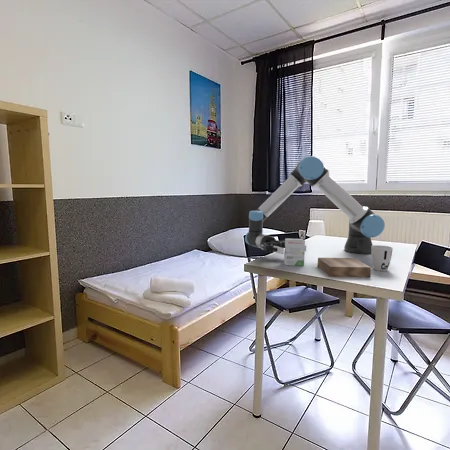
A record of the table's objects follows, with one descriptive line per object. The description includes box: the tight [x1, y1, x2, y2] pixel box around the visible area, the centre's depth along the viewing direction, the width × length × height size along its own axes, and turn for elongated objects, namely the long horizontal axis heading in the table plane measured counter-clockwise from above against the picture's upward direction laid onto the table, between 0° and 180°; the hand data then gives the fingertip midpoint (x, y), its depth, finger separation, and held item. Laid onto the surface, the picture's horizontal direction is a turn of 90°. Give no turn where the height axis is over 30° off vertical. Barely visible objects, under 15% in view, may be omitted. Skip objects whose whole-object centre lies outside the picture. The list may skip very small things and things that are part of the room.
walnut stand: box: [317, 257, 372, 278], centre depth 125 cm, size 16×16×4 cm
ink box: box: [283, 237, 306, 267], centre depth 136 cm, size 9×5×12 cm, turn 84°
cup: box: [370, 244, 394, 272], centre depth 128 cm, size 8×8×10 cm
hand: (294, 249), depth 135 cm, fingers open, 13 cm apart
